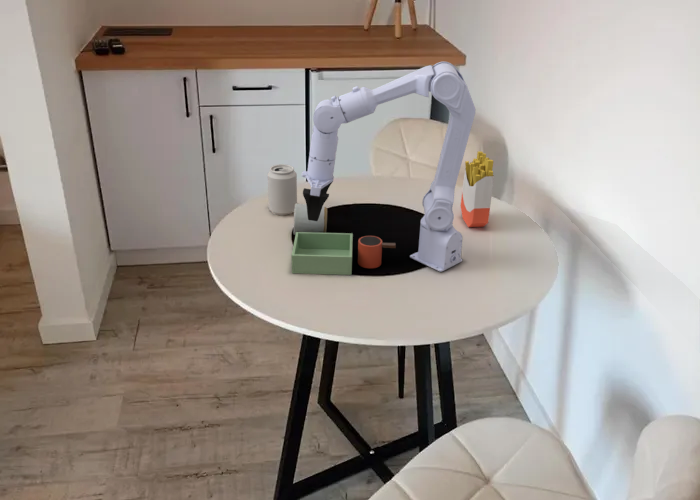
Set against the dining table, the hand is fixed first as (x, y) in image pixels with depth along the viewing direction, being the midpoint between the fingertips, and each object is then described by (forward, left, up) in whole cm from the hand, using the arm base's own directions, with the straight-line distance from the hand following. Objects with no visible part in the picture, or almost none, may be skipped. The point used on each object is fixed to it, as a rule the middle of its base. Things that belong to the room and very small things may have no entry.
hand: (315, 213), depth 153 cm
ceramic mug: (+10, -7, -11) cm, 16 cm away
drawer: (-4, +1, -11) cm, 11 cm away
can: (+24, -10, -11) cm, 28 cm away
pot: (-12, -8, -11) cm, 18 cm away
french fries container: (-14, -42, -11) cm, 46 cm away
